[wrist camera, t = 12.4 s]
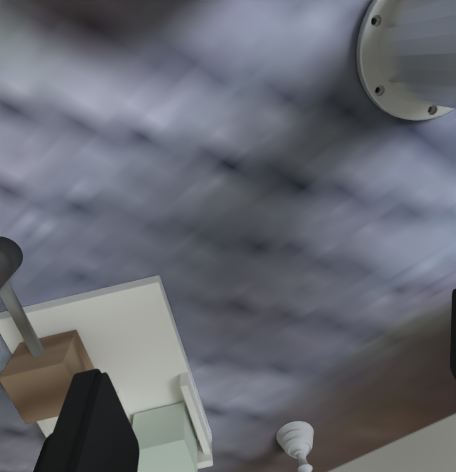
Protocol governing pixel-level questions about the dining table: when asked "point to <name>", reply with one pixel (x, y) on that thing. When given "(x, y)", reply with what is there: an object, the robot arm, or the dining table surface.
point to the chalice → (297, 442)
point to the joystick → (37, 354)
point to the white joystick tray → (133, 367)
